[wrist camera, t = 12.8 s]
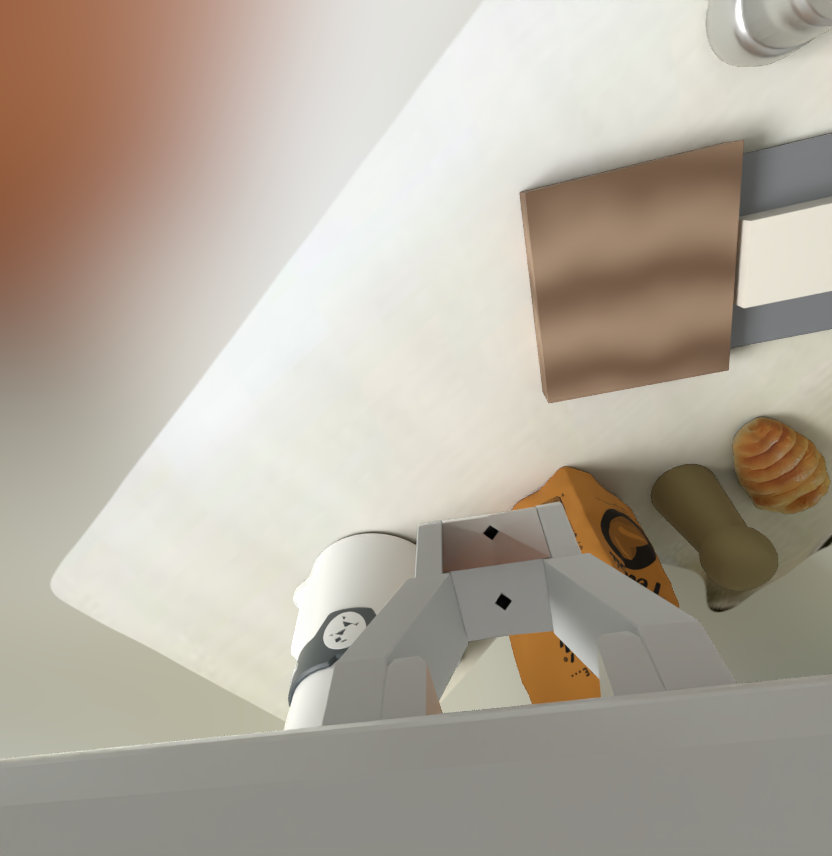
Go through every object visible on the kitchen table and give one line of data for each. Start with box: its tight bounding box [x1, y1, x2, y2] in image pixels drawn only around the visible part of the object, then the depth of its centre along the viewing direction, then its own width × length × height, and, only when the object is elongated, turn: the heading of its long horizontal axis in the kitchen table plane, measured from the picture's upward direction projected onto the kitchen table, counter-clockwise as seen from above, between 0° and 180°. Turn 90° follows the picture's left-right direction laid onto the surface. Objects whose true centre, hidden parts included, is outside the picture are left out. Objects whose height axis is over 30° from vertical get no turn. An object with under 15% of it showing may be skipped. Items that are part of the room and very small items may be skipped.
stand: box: [519, 140, 744, 403], centre depth 36 cm, size 16×14×2 cm
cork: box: [651, 464, 778, 591], centre depth 41 cm, size 6×6×11 cm
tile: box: [733, 196, 832, 308], centre depth 34 cm, size 6×9×2 cm, turn 103°
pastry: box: [732, 417, 830, 514], centre depth 43 cm, size 9×7×4 cm
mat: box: [730, 133, 832, 348], centre depth 35 cm, size 14×14×1 cm
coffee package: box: [509, 467, 679, 704], centre depth 38 cm, size 10×12×22 cm
